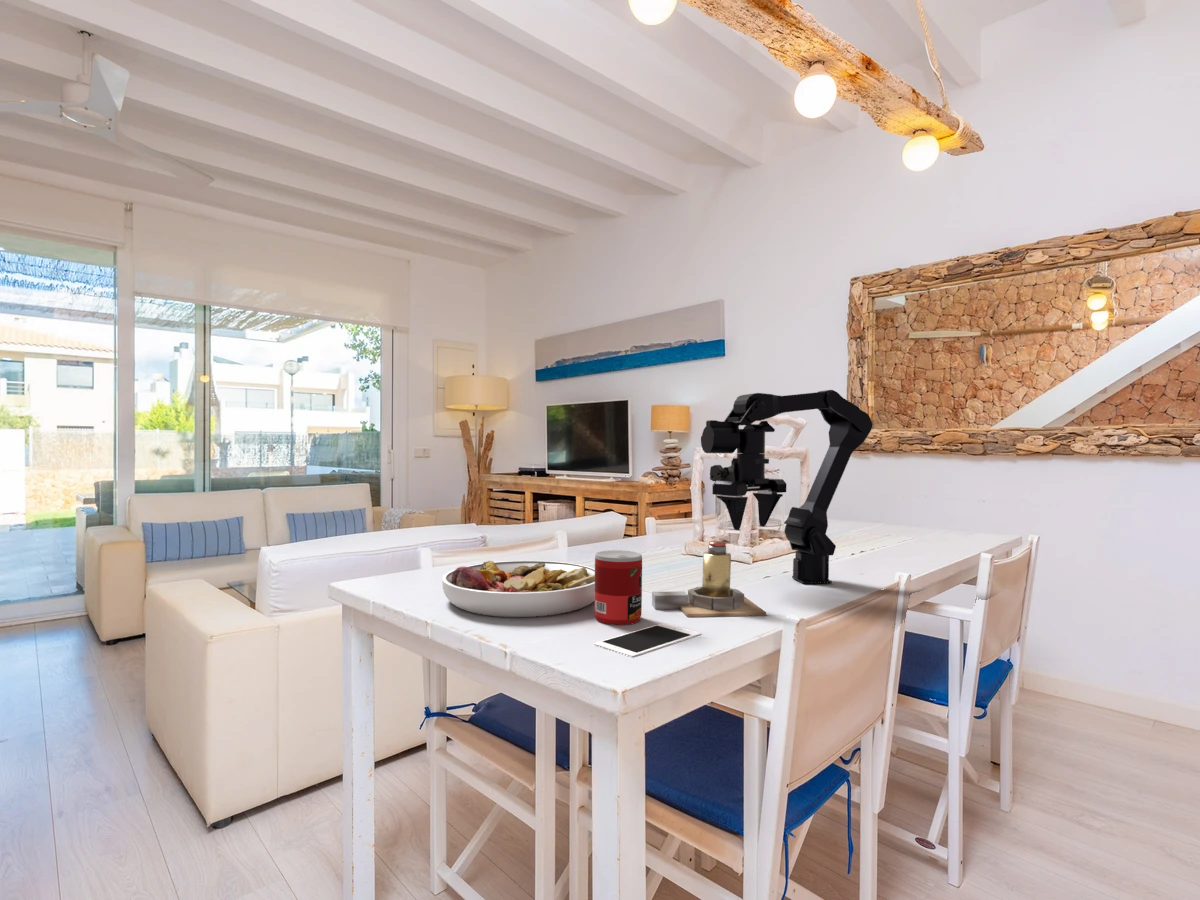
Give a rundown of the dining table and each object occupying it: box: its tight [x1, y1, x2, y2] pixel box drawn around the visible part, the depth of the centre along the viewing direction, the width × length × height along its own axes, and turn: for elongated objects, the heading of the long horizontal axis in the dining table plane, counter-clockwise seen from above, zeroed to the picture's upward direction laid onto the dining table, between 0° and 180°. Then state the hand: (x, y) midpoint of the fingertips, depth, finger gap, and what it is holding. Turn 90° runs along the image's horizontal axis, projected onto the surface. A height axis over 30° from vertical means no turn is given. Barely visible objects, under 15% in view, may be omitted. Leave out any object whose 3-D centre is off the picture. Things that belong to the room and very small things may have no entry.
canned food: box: [594, 549, 643, 626], centre depth 109 cm, size 8×8×11 cm
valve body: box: [701, 540, 732, 597], centre depth 118 cm, size 5×5×11 cm
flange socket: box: [651, 586, 767, 618], centre depth 118 cm, size 18×14×2 cm
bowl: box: [441, 560, 595, 618], centre depth 122 cm, size 30×30×8 cm
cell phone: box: [594, 622, 702, 657], centre depth 98 cm, size 8×16×1 cm, turn 135°
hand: (749, 528), depth 136 cm, fingers open, 9 cm apart
